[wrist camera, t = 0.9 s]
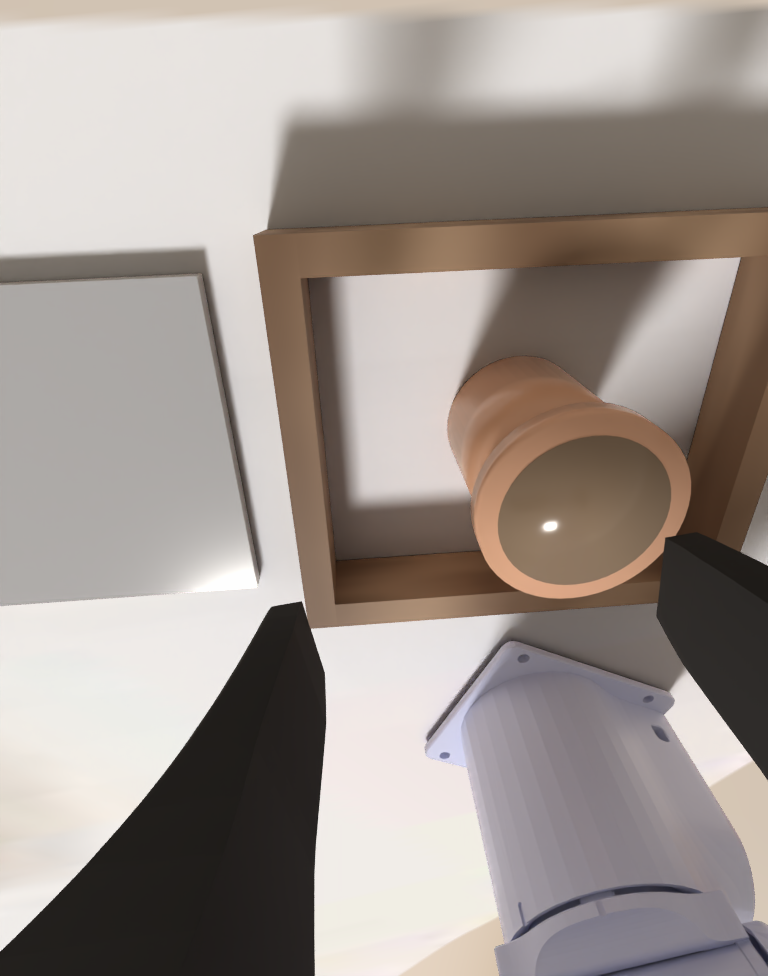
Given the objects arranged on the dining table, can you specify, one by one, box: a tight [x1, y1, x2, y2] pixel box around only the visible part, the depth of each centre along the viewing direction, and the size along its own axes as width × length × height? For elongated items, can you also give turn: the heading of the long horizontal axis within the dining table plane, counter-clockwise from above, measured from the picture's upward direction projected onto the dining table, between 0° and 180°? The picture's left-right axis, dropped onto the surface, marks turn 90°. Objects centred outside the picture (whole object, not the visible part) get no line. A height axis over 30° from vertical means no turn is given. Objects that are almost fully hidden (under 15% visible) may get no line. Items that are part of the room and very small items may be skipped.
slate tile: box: [0, 273, 260, 606], centre depth 17 cm, size 11×11×1 cm
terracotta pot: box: [447, 356, 691, 599], centre depth 15 cm, size 5×5×6 cm
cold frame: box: [253, 207, 768, 629], centre depth 17 cm, size 15×12×2 cm
